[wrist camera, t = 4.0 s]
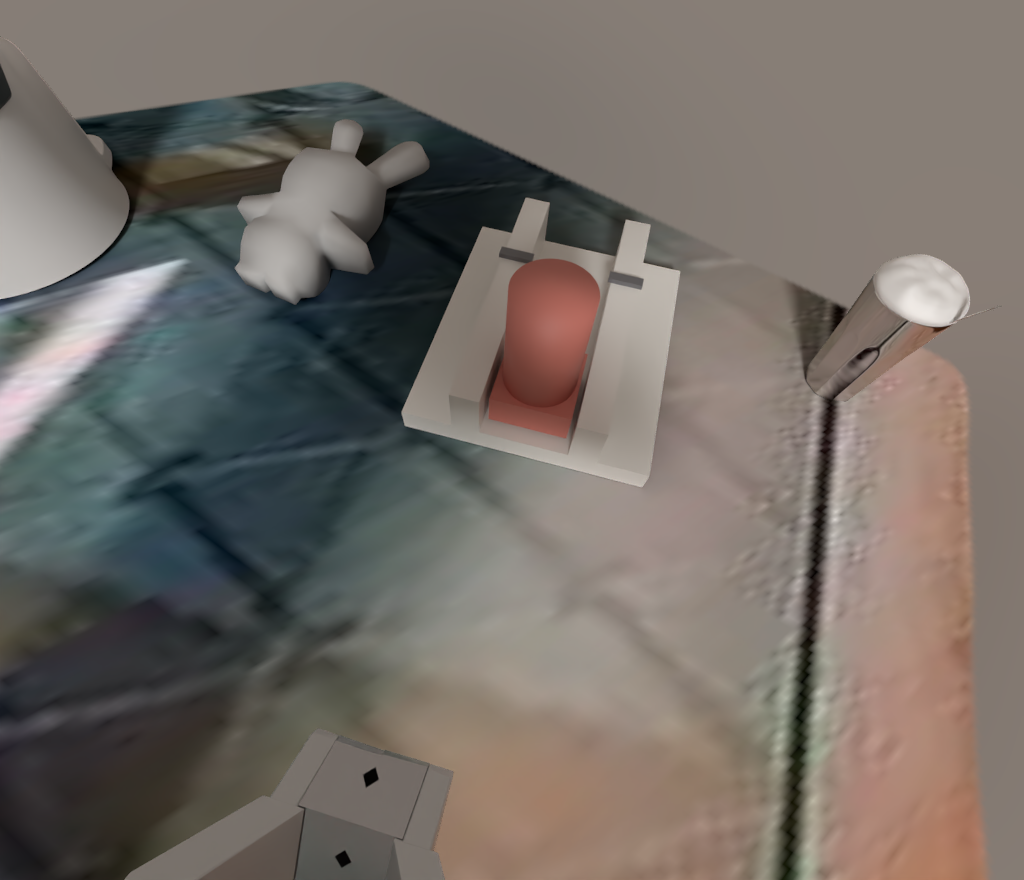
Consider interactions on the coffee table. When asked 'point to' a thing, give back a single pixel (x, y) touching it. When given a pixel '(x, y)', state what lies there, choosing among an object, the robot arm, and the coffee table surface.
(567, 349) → the red plug
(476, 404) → the white slider track base
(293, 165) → the bunny figurine
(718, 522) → the coffee table surface
